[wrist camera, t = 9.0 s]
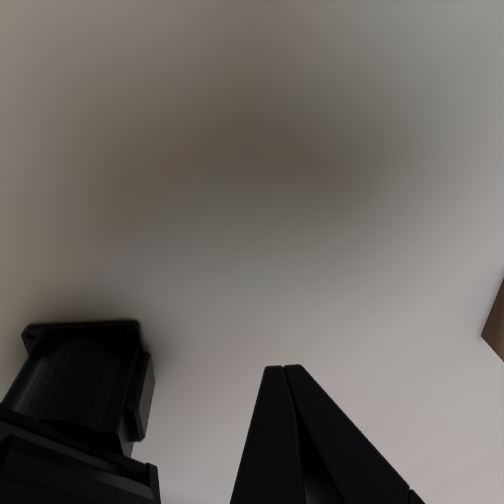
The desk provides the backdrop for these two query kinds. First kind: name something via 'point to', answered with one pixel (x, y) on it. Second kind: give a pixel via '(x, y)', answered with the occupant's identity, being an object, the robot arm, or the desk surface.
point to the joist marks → (496, 325)
